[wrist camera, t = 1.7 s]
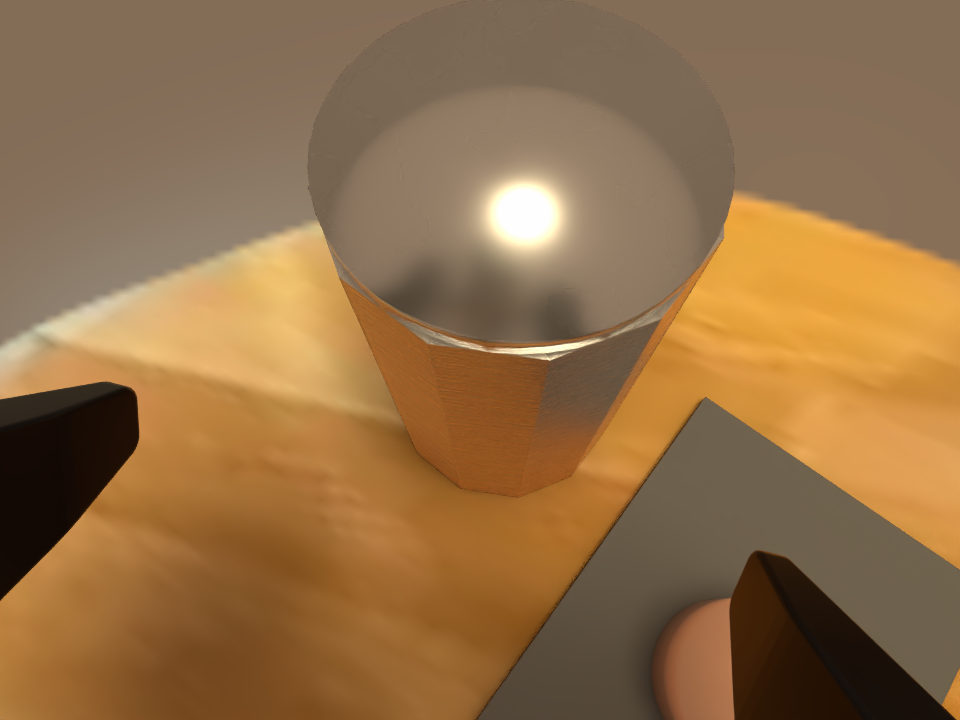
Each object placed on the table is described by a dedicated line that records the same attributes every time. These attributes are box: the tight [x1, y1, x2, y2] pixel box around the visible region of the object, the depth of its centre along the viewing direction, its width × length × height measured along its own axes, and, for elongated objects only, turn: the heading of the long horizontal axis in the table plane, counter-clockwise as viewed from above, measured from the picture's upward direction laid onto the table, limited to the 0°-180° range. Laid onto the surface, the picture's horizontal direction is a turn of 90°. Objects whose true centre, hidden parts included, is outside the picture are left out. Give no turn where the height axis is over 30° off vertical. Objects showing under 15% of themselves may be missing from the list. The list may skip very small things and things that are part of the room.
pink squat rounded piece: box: [652, 598, 734, 720], centre depth 17 cm, size 4×4×3 cm
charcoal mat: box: [477, 397, 960, 720], centre depth 19 cm, size 14×10×1 cm
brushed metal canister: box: [307, 0, 735, 497], centre depth 16 cm, size 7×7×12 cm
